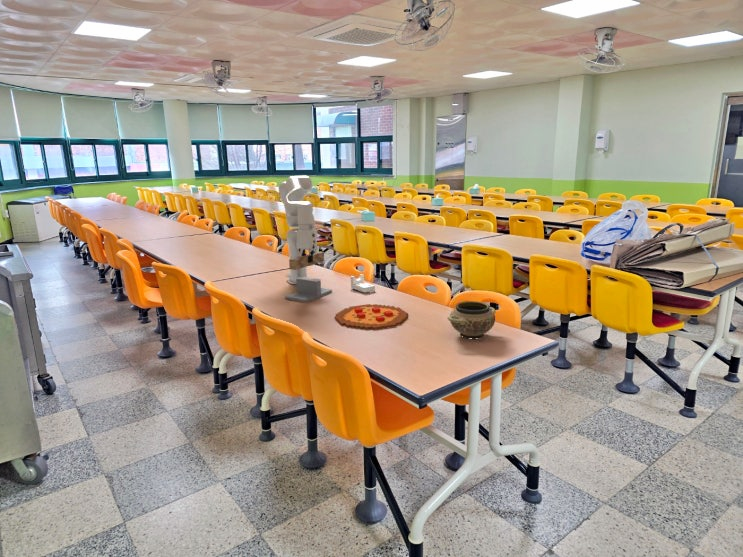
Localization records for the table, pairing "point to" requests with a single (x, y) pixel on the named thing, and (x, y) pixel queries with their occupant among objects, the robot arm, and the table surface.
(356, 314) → the pizza
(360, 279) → the bracket
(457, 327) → the ceramic bowl
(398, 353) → the table surface
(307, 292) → the balance stand
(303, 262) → the brown wooden bar
